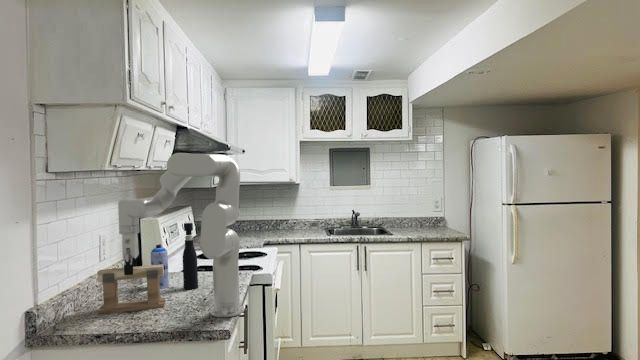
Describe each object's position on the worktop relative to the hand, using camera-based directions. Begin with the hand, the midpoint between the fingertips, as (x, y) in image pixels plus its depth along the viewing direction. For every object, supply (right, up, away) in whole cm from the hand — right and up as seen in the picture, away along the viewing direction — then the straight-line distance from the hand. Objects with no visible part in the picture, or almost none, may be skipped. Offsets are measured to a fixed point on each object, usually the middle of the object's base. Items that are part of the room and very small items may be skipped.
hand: (130, 271), depth 180 cm
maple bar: (0, -2, 0) cm, 2 cm away
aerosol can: (+1, -14, +31) cm, 34 cm away
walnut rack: (+1, -14, 0) cm, 14 cm away
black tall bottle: (+16, -13, +27) cm, 34 cm away
